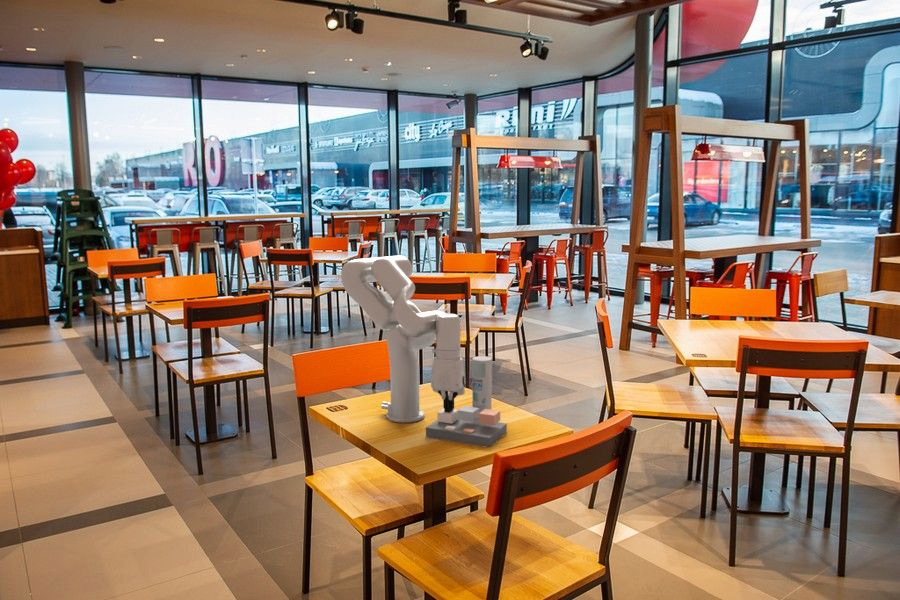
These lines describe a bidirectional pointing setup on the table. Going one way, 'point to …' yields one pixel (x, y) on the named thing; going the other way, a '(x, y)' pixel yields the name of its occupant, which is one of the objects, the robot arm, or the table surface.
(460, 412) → the grey key
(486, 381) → the spray can
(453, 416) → the cream key
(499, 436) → the key pad
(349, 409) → the table surface
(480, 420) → the terracotta key
